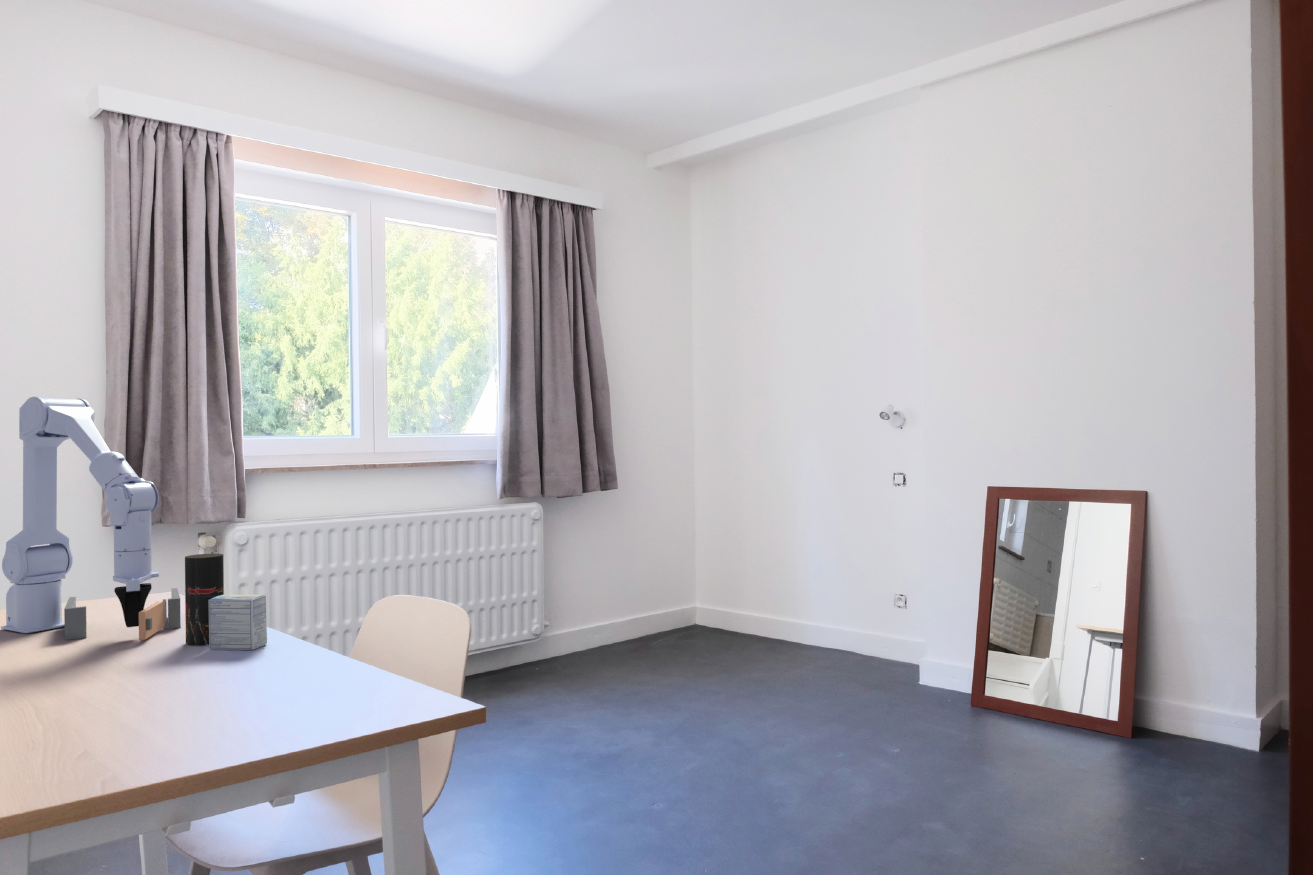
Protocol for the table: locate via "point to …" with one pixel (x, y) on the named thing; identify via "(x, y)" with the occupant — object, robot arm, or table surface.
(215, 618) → the medicine box
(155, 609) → the door
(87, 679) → the table surface
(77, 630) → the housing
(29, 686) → the table surface
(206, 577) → the deodorant
